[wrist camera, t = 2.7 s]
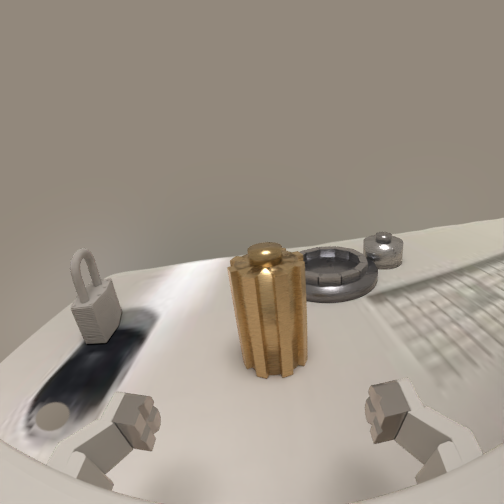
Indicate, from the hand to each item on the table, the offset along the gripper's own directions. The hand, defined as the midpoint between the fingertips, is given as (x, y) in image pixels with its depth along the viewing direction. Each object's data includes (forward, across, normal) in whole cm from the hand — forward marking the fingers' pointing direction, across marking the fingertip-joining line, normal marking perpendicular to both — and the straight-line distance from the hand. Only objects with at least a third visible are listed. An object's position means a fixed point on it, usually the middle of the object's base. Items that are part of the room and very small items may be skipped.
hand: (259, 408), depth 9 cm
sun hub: (+30, -17, +8) cm, 36 cm away
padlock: (+18, +20, +9) cm, 28 cm away
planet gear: (+12, 0, +8) cm, 15 cm away
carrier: (+27, -8, +8) cm, 29 cm away
